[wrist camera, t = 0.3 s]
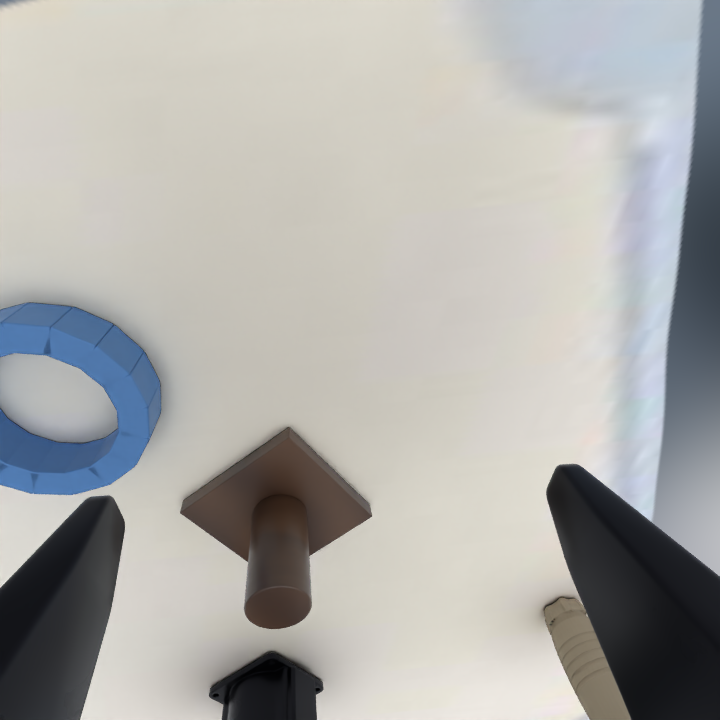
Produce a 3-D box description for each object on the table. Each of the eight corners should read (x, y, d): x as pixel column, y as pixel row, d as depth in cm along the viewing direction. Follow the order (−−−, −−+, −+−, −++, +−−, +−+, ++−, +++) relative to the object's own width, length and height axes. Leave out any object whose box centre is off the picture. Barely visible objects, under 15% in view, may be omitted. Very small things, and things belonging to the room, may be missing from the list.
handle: (518, 632, 38) (638, 900, 25) (552, 579, 36) (705, 848, 23) (567, 634, 40) (707, 892, 26) (604, 583, 37) (779, 841, 24)
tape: (76, 490, 26) (57, 523, 24) (-90, 380, 22) (-130, 408, 20) (199, 399, 25) (191, 425, 22) (46, 263, 20) (18, 280, 18)
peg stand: (272, 566, 31) (269, 678, 25) (182, 500, 27) (152, 611, 21) (370, 504, 30) (391, 606, 24) (289, 426, 26) (289, 522, 20)
